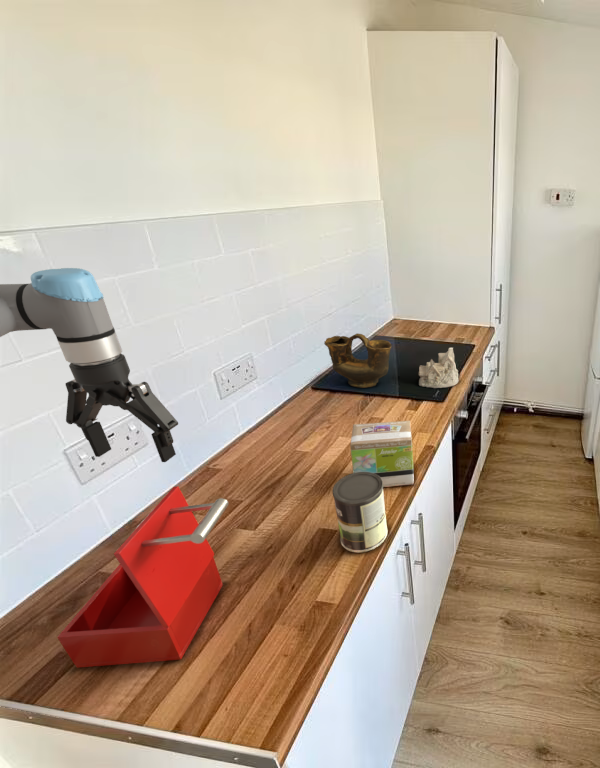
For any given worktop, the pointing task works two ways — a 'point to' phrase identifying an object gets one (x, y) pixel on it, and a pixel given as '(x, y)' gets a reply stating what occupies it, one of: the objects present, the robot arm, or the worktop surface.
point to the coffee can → (360, 511)
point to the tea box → (384, 451)
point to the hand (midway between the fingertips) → (136, 455)
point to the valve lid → (169, 552)
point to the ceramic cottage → (439, 371)
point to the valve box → (135, 623)
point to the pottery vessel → (357, 369)
